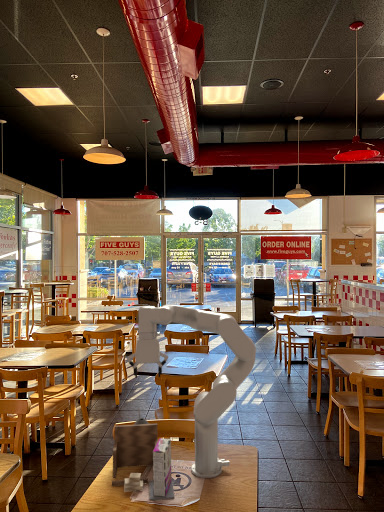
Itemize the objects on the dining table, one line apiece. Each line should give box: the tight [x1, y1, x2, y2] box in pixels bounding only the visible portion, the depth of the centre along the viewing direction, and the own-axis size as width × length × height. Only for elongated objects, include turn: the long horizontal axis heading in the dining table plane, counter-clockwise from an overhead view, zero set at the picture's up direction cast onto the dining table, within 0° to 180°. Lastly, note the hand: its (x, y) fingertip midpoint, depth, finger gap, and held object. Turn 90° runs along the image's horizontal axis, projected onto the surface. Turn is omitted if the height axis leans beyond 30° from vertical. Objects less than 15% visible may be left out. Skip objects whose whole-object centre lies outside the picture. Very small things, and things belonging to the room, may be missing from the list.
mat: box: [148, 479, 175, 501], centre depth 148 cm, size 9×12×1 cm
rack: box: [111, 423, 159, 487], centre depth 160 cm, size 18×15×17 cm
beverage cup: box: [133, 408, 149, 425], centre depth 177 cm, size 7×7×20 cm
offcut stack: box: [123, 472, 144, 493], centre depth 149 cm, size 7×4×5 cm, turn 96°
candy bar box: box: [152, 437, 173, 497], centre depth 148 cm, size 11×5×16 cm, turn 172°
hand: (147, 376), depth 164 cm, fingers open, 9 cm apart
